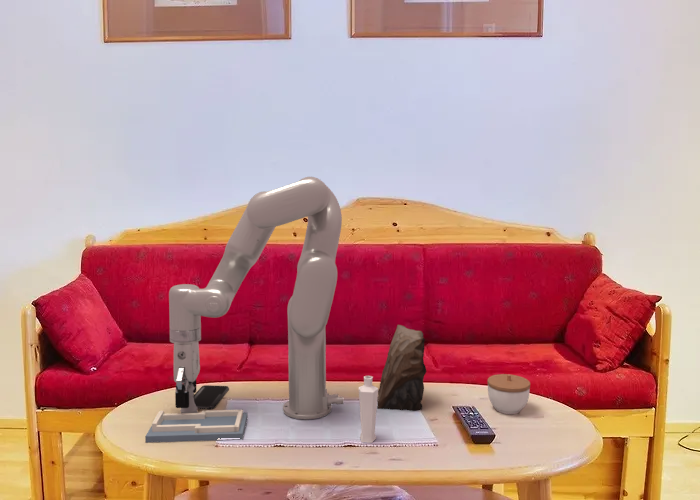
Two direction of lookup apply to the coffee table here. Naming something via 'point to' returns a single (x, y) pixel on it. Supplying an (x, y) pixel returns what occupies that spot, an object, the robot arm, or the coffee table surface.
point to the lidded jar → (508, 392)
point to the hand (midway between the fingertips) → (186, 399)
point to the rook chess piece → (190, 401)
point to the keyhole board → (197, 426)
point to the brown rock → (403, 372)
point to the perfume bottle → (368, 409)
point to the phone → (209, 396)
